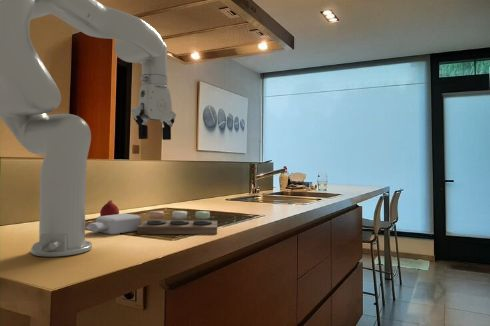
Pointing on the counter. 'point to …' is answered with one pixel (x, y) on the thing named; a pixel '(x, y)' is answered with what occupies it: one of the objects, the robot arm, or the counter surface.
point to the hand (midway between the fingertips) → (155, 139)
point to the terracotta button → (156, 214)
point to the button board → (177, 227)
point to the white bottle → (115, 224)
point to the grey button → (179, 214)
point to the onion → (109, 209)
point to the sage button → (202, 215)
